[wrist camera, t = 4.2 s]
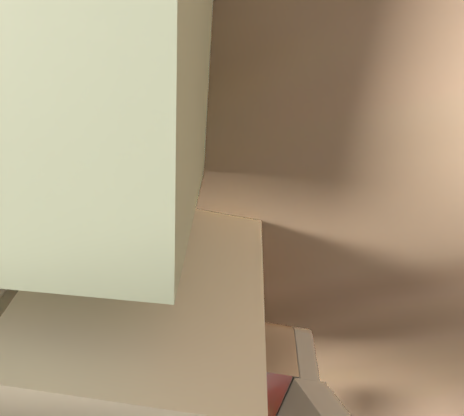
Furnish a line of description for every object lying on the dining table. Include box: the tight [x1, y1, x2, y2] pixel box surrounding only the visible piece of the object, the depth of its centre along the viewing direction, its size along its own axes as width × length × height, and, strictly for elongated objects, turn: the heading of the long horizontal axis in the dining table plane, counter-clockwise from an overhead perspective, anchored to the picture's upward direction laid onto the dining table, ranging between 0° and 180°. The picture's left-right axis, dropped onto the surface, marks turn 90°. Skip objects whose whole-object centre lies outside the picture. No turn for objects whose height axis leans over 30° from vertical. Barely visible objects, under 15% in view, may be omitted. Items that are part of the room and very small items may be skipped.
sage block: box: [0, 0, 213, 305], centre depth 7 cm, size 6×6×5 cm
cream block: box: [0, 209, 268, 416], centre depth 10 cm, size 5×5×6 cm
